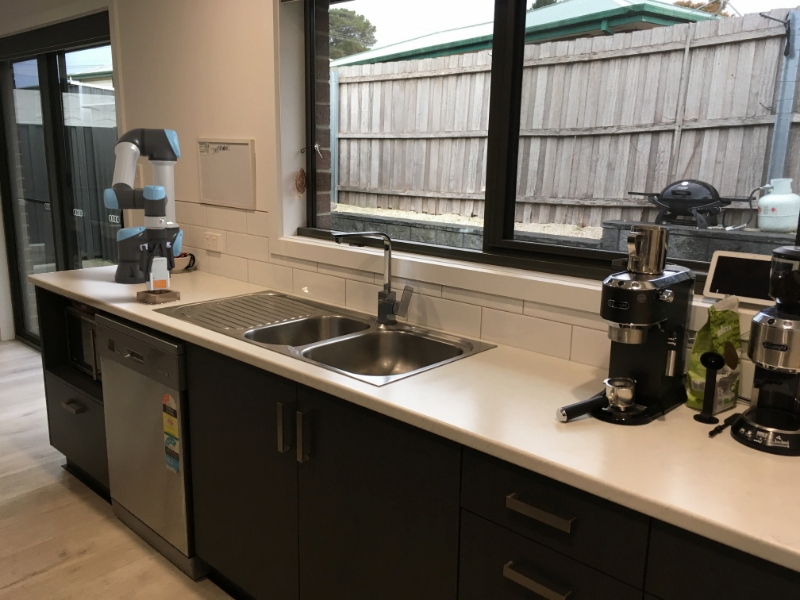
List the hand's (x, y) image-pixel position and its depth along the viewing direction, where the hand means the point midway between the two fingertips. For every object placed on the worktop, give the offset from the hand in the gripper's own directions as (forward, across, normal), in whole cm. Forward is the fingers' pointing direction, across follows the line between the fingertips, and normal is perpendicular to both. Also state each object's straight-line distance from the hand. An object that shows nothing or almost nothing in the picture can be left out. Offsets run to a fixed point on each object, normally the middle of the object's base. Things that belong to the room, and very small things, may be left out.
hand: (158, 288), depth 242 cm
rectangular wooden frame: (+5, 0, 0) cm, 5 cm away
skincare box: (0, 0, 0) cm, 0 cm away
